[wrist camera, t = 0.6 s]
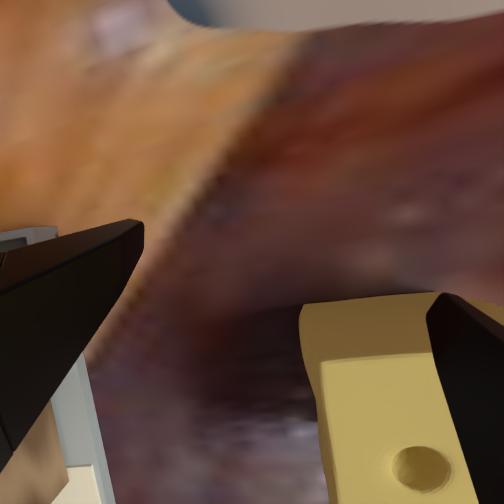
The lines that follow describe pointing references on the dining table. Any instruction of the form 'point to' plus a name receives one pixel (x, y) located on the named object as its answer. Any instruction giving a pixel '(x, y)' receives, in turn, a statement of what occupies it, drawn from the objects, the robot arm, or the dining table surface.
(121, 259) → the robot arm
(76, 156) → the dining table surface
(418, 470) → the cheese
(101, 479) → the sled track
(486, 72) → the dining table surface
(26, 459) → the walnut block
